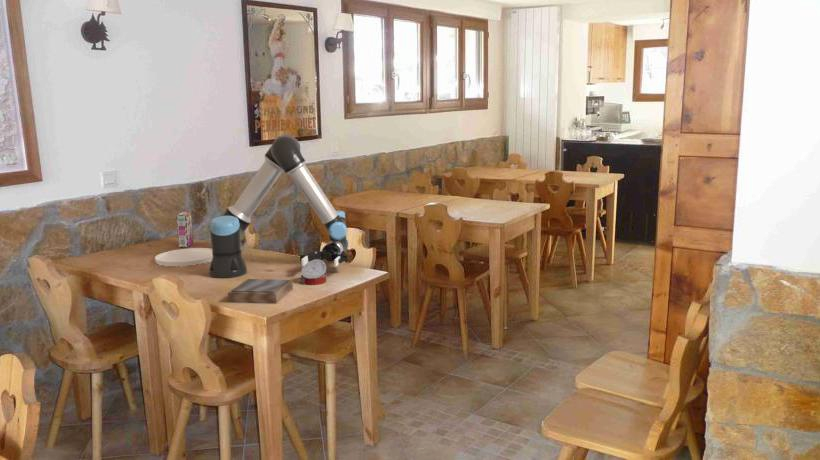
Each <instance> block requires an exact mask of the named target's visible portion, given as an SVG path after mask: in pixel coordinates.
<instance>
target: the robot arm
mask: <svg viewBox="0 0 820 460" xmlns="http://www.w3.org/2000/svg"><path fill="white" fill-rule="evenodd" d="M282 173H285V175H289V176H290V177H291V179H292V181H293V182H294V183H295V185H296V186H297V188H298V189H299V191H300V192H301V194H302V195H303V196H304V198H305V199H306V201H307V202H308V204H309V205H310V207H311V208H312V210H313V211H314V213H315V214H316V216H317V217H318V219H319V220H320V221H321V223H322V225H323V226H324V227H325V229H326V230H327V232H328V241H329V242H328V243H326V244H325V246H323V247H322V249H321V250H320V251H317V250H312V251H311V252H306V253H303V254H300V256H299V258H300V259H299V261H300V262H301V267H304V265H306V264H307V263H308V262H310V261H312V260H315V259H320V260H323V261H327V262H334V267H338V266H339V265H340V264H342V263H344V262H345V263H349V255H348V254H347V253H346V251H347V250H348V248H349V245H348V244H349V240H348V239H347V233H348V227H347V224H346V212H345V211H343V210H336V209H335V208H334V206H333V204H332V203H331V202H330V200H329V198H328V197H327V195H326V194H325V193H324V191H323V189H322V188H321V186H320V185H319V183H318V182H317V180H316V179H315V177H314V175H312V173H311V172H310V170H309V169H308V167H307V165H306V160H305V157H304V156H303V154H302V153H301V144H300V142H299V141H298V139H297V138H296V137H295V136H292V135H291V134H281V135H278V137H276V138H275V139H274V141H273V142H272V143H271V145H270V147H269V148H268V150H267V151H266V153H265V154H264V162H262V165H261V166H260V168H259V169H258V170H257V171H256V173H255V175H254V176H253V178H252V179H251V180H250V182H249V183H248V185H247V186H246V187H245V188H244V190H243V192H242V193H241V195H240V196H239V198H237V200H236V202H235V203H234V204H233V205H232V206H228V207H227V208H226V210H225V211H224V212H223V213H222V215H221V216H217V217H214V218H212V219H211V220H210V223H209V230H210V242H211V249H212V255H213V257H212V261H211V262H210V266H209V270H208V271H209V276H210V277H212V278H217V279H218V278H219V279H225V278H226V279H228V278H235V277H239V276H243V275H246V274H247V273H248V269H247V265H246V262H245V259H244V257H243V255H242V250H241V241H240V238H241V236H242V235H243V233H244V232H245V230H246V231H247V229H248V227H249V226H250V224H251V223H252V219H251V218H252V216H253V214H254V213H255V211H256V210H257V208H258V207H259V206H260V205H261V204H262V201H263V200H264V199H265V197H266V196H267V194H268V193H269V192H270V190H271V189H272V187H273V186H274V185H275V183H276V181H277V180H278V179H279V177H280V176H281V175H282Z"/></svg>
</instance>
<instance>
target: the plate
mask: <svg viewBox="0 0 820 460" xmlns="http://www.w3.org/2000/svg"><path fill="white" fill-rule="evenodd" d="M212 257H213V255H212V248H208V247H207V248H206V247H190V248H189V247H187V248H179V249H174V250H173V249H172V250H169V251H165V252H161V253H159V254H156V256H154V262H156V263H157V264H159V265H158V266H161V265H164V266H163V267H168V266H176V267H177V266H180V267H189V266H188V265H193V266H197V265H196V264H199V265H203V264H202V263H204V264H207V263H206V262H209V263H211V262H210V261H212ZM156 263H155V264H156ZM157 264H156V265H157ZM176 267H175V268H176Z"/></svg>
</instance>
